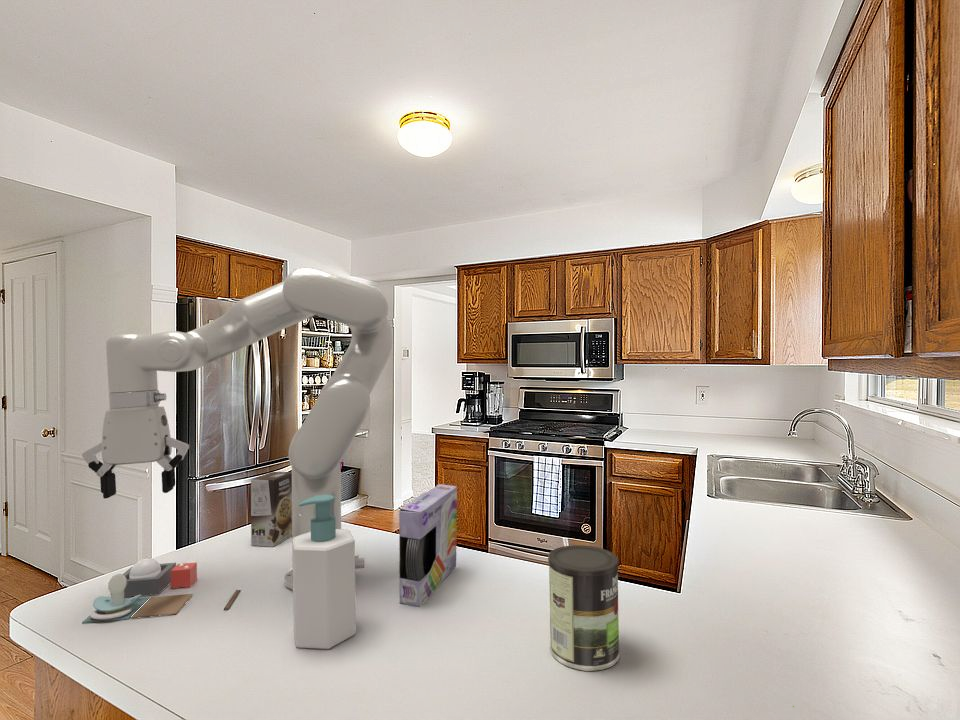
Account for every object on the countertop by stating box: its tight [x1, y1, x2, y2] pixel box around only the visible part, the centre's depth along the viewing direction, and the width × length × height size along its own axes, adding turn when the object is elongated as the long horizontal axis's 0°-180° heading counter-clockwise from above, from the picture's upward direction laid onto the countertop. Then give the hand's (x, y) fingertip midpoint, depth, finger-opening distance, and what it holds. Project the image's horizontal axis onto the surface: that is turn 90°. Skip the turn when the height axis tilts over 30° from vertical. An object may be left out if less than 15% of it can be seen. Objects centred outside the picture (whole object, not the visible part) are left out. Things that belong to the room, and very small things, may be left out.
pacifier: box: [89, 573, 142, 619], centre depth 89 cm, size 7×6×6 cm
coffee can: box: [547, 544, 621, 672], centre depth 76 cm, size 10×10×14 cm
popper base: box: [122, 561, 198, 598], centre depth 101 cm, size 13×8×4 cm, turn 100°
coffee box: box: [250, 471, 292, 548], centre depth 126 cm, size 9×6×16 cm
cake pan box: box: [398, 483, 458, 608], centre depth 99 cm, size 19×5×18 cm, turn 161°
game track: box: [81, 589, 241, 625], centre depth 92 cm, size 23×8×1 cm, turn 100°
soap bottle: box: [291, 494, 357, 650], centre depth 82 cm, size 10×9×22 cm
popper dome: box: [129, 557, 161, 579], centre depth 100 cm, size 5×5×5 cm
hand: (139, 493), depth 94 cm, fingers open, 9 cm apart
